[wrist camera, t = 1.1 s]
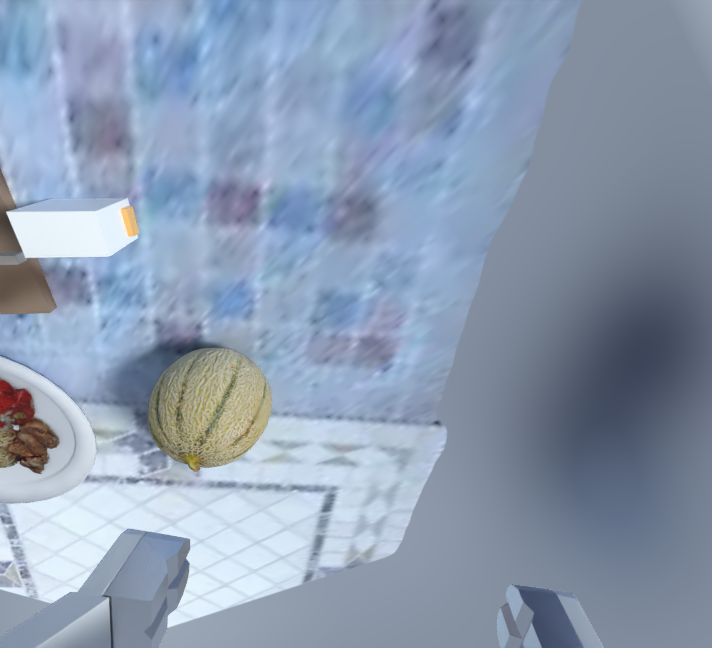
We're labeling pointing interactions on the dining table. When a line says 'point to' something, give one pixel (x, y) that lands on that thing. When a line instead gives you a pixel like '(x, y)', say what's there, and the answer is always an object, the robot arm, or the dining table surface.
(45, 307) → the rail panel
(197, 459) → the cantaloupe
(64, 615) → the robot arm
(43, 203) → the rail module
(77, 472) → the plated food
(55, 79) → the dining table surface
